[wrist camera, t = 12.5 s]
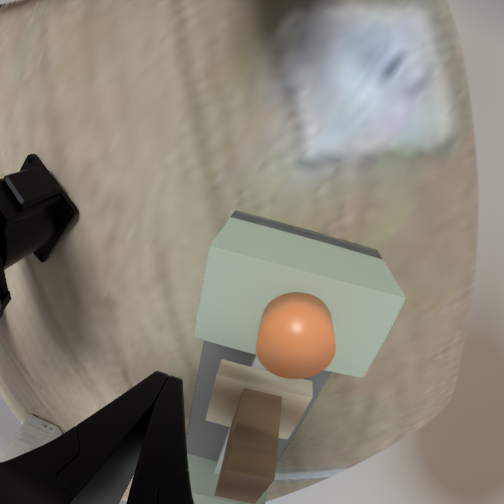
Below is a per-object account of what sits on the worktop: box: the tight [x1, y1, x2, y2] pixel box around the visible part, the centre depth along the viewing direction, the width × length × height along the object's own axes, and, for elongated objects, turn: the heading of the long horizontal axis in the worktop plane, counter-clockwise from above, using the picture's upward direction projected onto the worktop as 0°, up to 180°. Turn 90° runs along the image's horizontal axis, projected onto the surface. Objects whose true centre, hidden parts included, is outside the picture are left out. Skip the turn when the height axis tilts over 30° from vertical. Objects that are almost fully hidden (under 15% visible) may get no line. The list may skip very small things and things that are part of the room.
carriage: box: [206, 359, 313, 504], centre depth 17 cm, size 5×6×8 cm
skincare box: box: [0, 415, 63, 462], centre depth 28 cm, size 8×7×16 cm
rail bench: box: [186, 210, 406, 504], centre depth 22 cm, size 30×9×6 cm, turn 166°
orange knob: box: [256, 292, 336, 379], centre depth 14 cm, size 3×3×4 cm
